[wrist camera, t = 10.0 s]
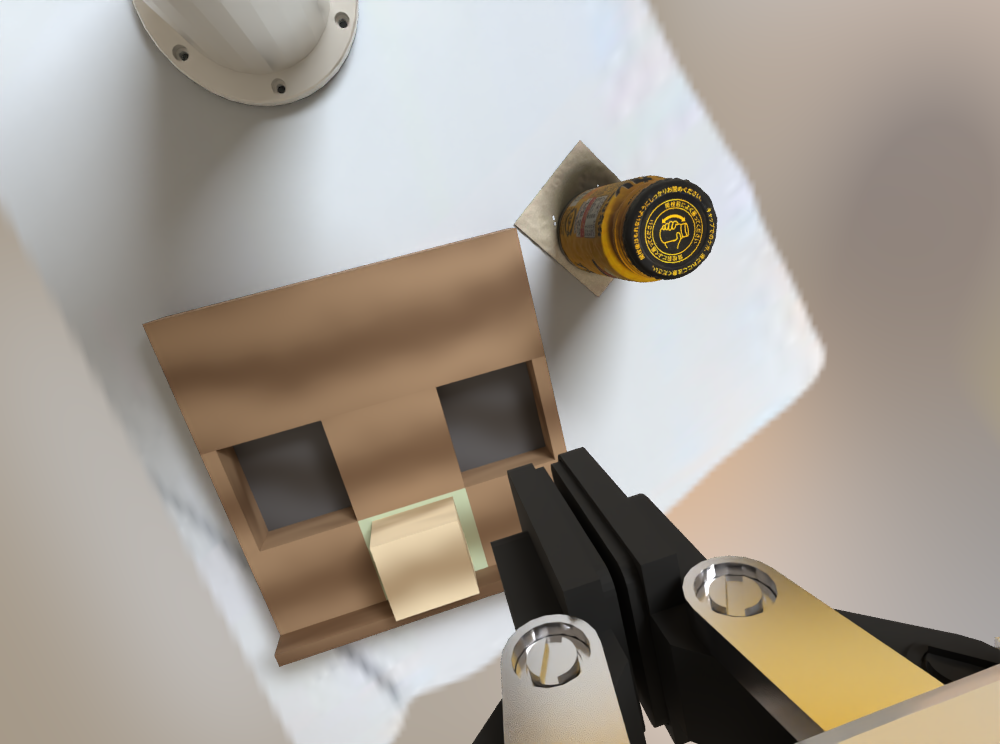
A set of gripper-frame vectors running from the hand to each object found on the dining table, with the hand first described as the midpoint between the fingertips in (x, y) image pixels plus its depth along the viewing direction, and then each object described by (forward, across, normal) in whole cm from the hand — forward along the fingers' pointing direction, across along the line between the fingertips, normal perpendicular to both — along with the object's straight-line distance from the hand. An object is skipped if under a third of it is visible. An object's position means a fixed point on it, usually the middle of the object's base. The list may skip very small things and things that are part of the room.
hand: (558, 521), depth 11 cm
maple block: (+26, +6, +15) cm, 31 cm away
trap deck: (+29, +6, +8) cm, 31 cm away
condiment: (+29, -12, -4) cm, 32 cm away
